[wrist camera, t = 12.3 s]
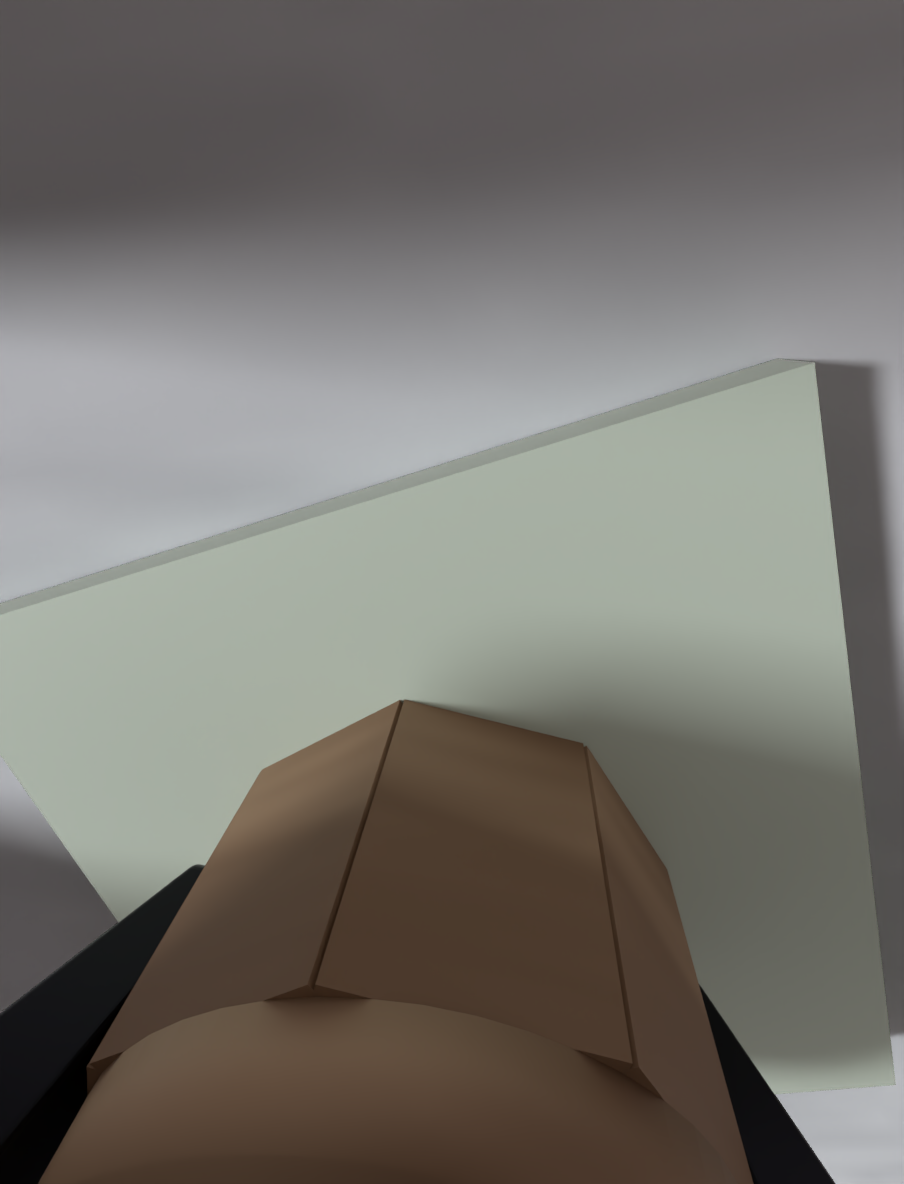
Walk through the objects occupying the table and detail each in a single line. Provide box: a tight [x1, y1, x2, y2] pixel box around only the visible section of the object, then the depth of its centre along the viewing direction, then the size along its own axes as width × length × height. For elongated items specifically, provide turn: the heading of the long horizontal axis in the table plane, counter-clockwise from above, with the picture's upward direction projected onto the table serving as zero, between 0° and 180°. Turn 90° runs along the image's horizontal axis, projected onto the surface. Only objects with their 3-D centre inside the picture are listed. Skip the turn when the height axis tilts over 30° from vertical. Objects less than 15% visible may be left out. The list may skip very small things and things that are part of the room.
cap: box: [38, 699, 753, 1184], centre depth 7 cm, size 6×6×6 cm
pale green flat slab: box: [0, 359, 896, 1094], centre depth 8 cm, size 12×12×4 cm
